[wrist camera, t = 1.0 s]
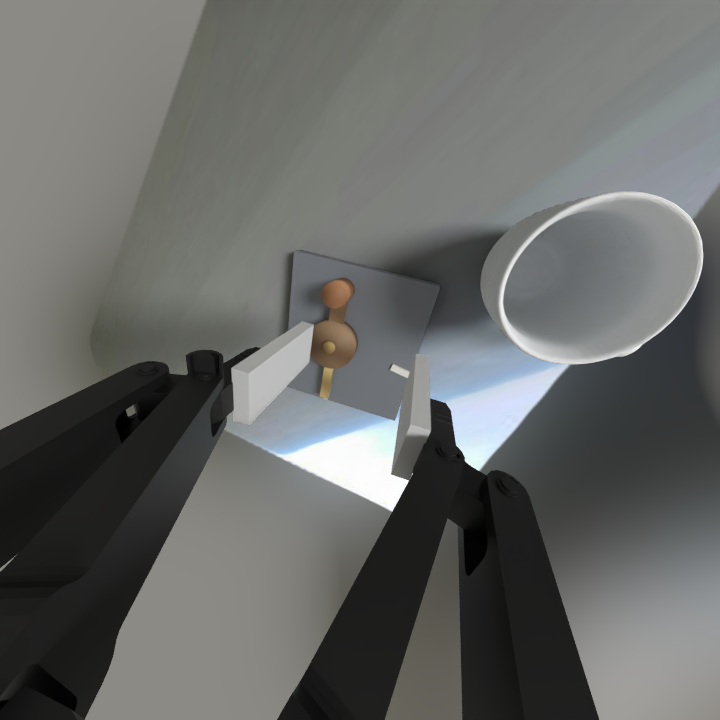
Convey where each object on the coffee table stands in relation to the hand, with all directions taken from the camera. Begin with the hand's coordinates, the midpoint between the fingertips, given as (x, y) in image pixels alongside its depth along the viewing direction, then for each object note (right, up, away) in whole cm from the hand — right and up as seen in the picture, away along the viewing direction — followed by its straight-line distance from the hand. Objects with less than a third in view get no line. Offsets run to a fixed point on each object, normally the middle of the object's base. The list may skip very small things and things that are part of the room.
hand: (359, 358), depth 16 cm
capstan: (-3, +3, +19) cm, 19 cm away
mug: (+19, +9, +13) cm, 24 cm away
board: (-1, +3, +20) cm, 21 cm away
